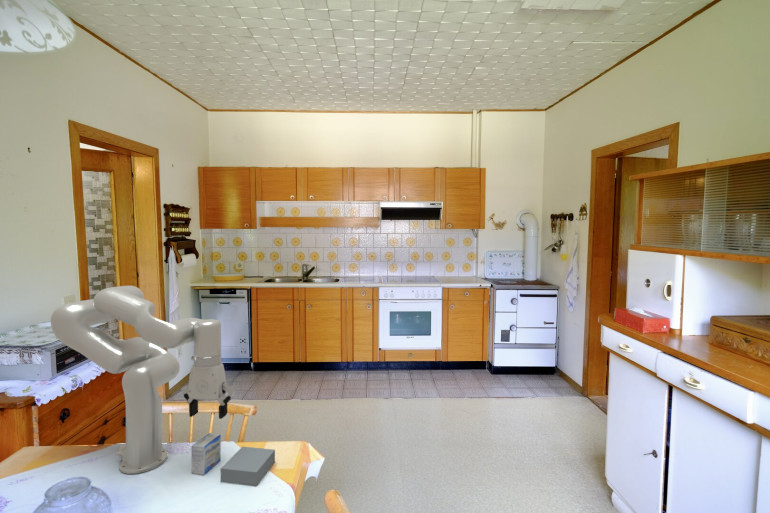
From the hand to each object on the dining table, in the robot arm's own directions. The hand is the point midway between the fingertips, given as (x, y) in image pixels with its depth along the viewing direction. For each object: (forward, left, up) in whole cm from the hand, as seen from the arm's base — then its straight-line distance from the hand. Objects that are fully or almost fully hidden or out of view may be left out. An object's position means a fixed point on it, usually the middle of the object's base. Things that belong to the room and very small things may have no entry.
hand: (208, 415), depth 112 cm
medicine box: (0, 0, -16) cm, 16 cm away
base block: (+14, 0, -16) cm, 21 cm away
